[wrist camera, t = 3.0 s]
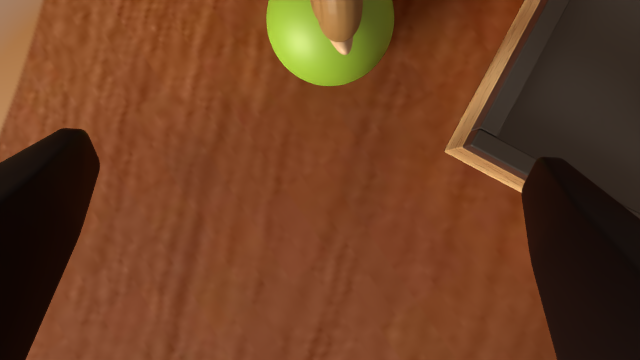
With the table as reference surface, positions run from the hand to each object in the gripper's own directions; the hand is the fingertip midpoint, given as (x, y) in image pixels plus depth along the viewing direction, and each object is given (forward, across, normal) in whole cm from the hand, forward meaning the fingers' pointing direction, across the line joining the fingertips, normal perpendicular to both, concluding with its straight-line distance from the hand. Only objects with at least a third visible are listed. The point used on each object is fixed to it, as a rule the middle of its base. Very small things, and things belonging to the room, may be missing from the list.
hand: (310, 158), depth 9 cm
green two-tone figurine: (+14, 0, +4) cm, 15 cm away
